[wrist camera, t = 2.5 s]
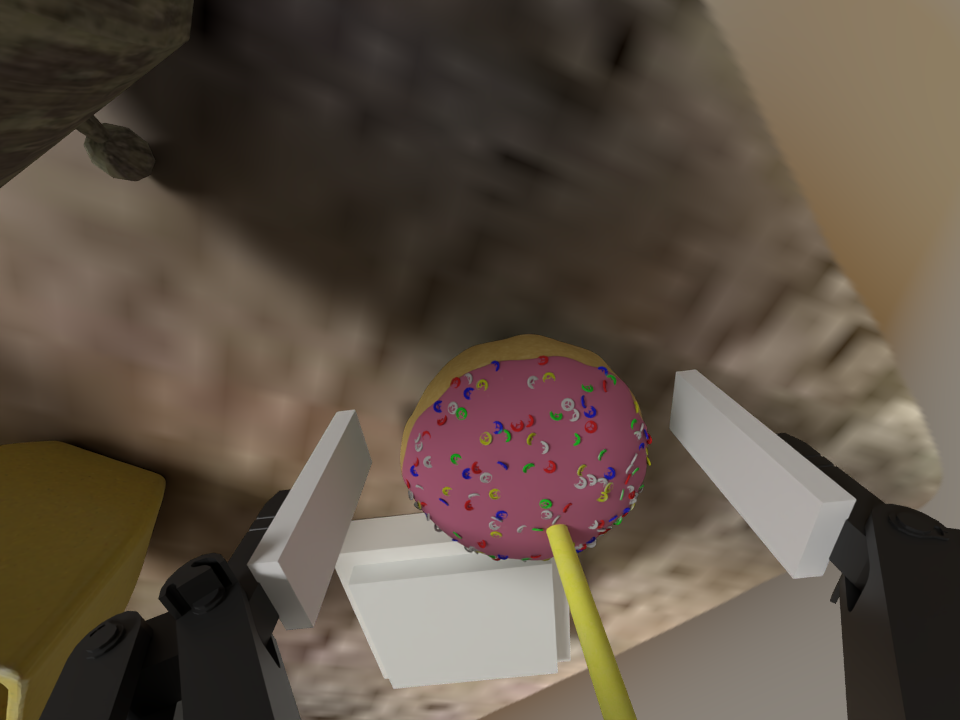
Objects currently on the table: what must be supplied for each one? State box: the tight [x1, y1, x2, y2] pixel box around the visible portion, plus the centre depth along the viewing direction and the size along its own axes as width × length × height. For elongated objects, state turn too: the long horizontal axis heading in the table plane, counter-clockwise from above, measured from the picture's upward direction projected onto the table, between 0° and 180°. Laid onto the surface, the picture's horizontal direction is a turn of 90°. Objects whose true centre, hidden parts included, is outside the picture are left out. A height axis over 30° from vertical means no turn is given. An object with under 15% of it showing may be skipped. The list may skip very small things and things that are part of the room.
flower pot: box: [0, 441, 166, 720], centre depth 15 cm, size 9×9×9 cm
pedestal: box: [335, 513, 571, 689], centre depth 21 cm, size 12×12×3 cm
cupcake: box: [400, 334, 652, 720], centre depth 11 cm, size 9×8×12 cm
